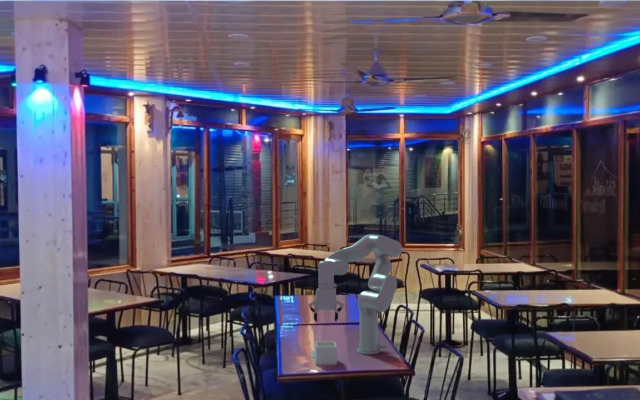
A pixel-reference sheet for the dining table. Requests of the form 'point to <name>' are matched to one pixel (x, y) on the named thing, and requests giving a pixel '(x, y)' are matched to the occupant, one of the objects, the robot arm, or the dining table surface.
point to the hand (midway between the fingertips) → (325, 321)
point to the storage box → (326, 353)
